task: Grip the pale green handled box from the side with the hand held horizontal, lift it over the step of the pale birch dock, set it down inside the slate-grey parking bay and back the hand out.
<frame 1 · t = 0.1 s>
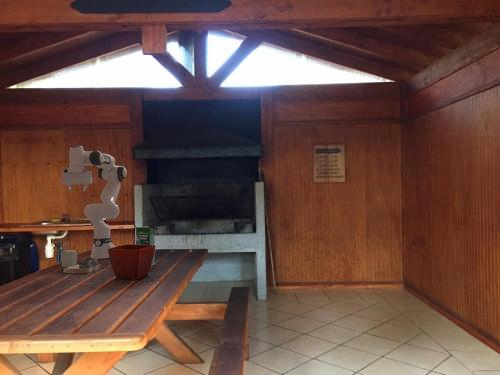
hand: (77, 191, 268), 48 cm above the table, tool pointing down, fingers open, 8 cm apart
plant pot: (132, 277, 229), on the table
milk carton: (145, 265, 264), on the table
pale green handled box: (69, 268, 257), on the table
dock: (82, 270, 250), on the table
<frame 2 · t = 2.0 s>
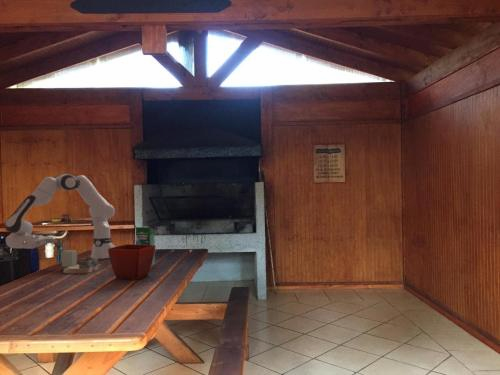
hand: (51, 241, 259), 17 cm above the table, tool horizontal, fingers open, 8 cm apart
nothing on the table moved.
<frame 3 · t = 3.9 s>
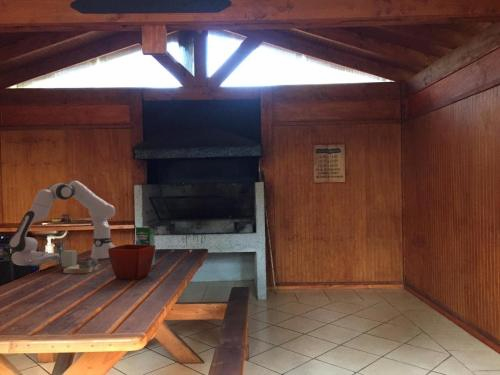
hand: (57, 259, 258), 6 cm above the table, tool horizontal, fingers open, 8 cm apart
nothing on the table moved.
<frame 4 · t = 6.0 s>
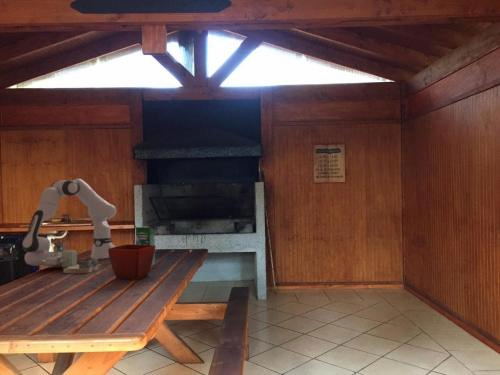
hand: (70, 259, 257), 6 cm above the table, tool horizontal, fingers closed on pale green handled box, 5 cm apart
pale green handled box: (69, 268, 257), on the table, touching gripper
everything else where it was.
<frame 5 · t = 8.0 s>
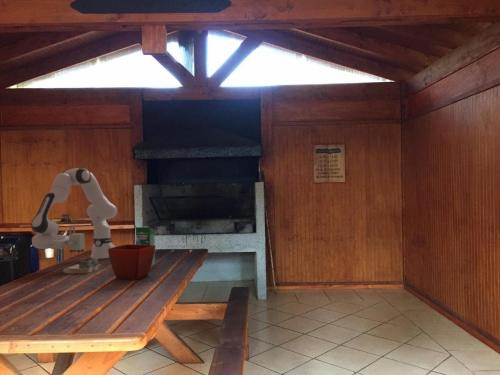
hand: (78, 242, 253), 17 cm above the table, tool horizontal, fingers closed on pale green handled box, 5 cm apart
pale green handled box: (76, 252, 253), point 11 cm above the table, touching gripper
everything else where it was.
when the fingers open (10 cm above the table, at t = 10.2 s): pale green handled box drops 1 cm, resting on dock.
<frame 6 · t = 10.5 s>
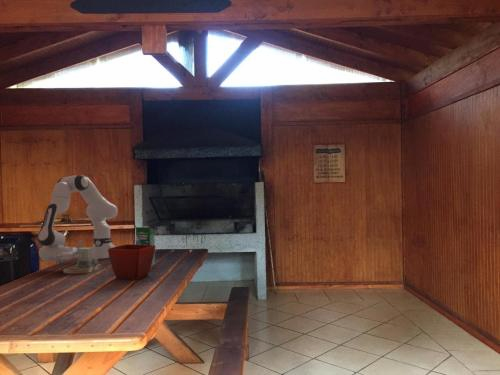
hand: (86, 254, 250), 10 cm above the table, tool horizontal, fingers open, 8 cm apart
pale green handled box: (85, 266, 250), point 3 cm above the table, touching dock
everything else where it was.
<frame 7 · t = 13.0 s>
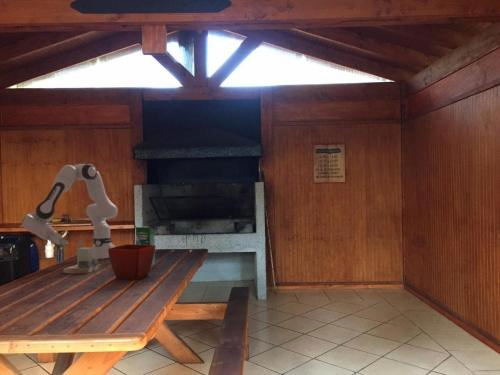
hand: (67, 244, 259), 15 cm above the table, tool tilted 55°, fingers open, 8 cm apart
nothing on the table moved.
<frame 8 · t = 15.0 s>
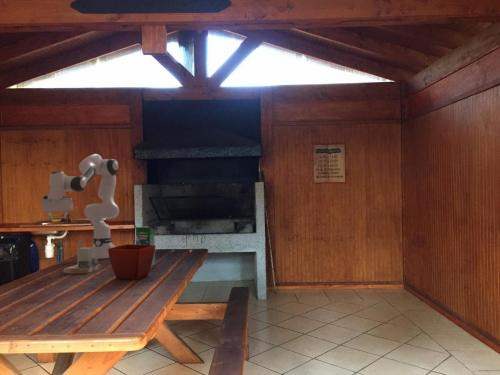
hand: (57, 218, 260), 31 cm above the table, tool pointing down, fingers open, 8 cm apart
nothing on the table moved.
at the end: pale green handled box inside the target area on the dock (0.1 cm from its centre), point 2.5 cm above the dock's base; pale green handled box tilted 0°; the gripper is holding nothing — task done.
